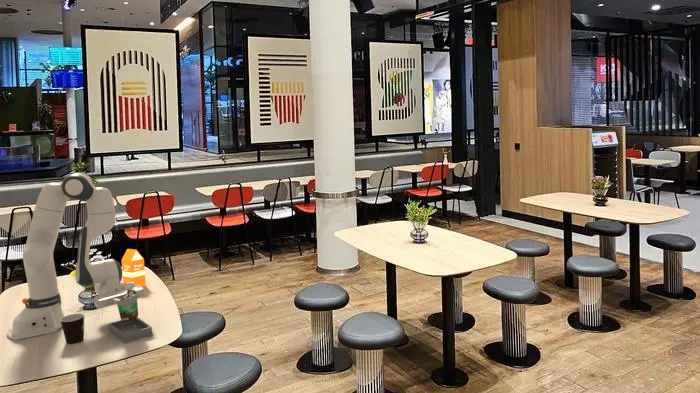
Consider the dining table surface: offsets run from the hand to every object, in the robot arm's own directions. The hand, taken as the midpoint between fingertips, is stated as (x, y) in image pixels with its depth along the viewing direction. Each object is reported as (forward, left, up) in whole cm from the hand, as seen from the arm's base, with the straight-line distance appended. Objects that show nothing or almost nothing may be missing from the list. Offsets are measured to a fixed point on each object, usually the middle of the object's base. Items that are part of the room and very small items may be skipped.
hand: (126, 301), depth 230 cm
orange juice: (+25, +61, -14) cm, 67 cm away
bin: (0, -2, -13) cm, 14 cm away
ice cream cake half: (+2, -2, -7) cm, 7 cm away
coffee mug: (-18, +8, -14) cm, 24 cm away
